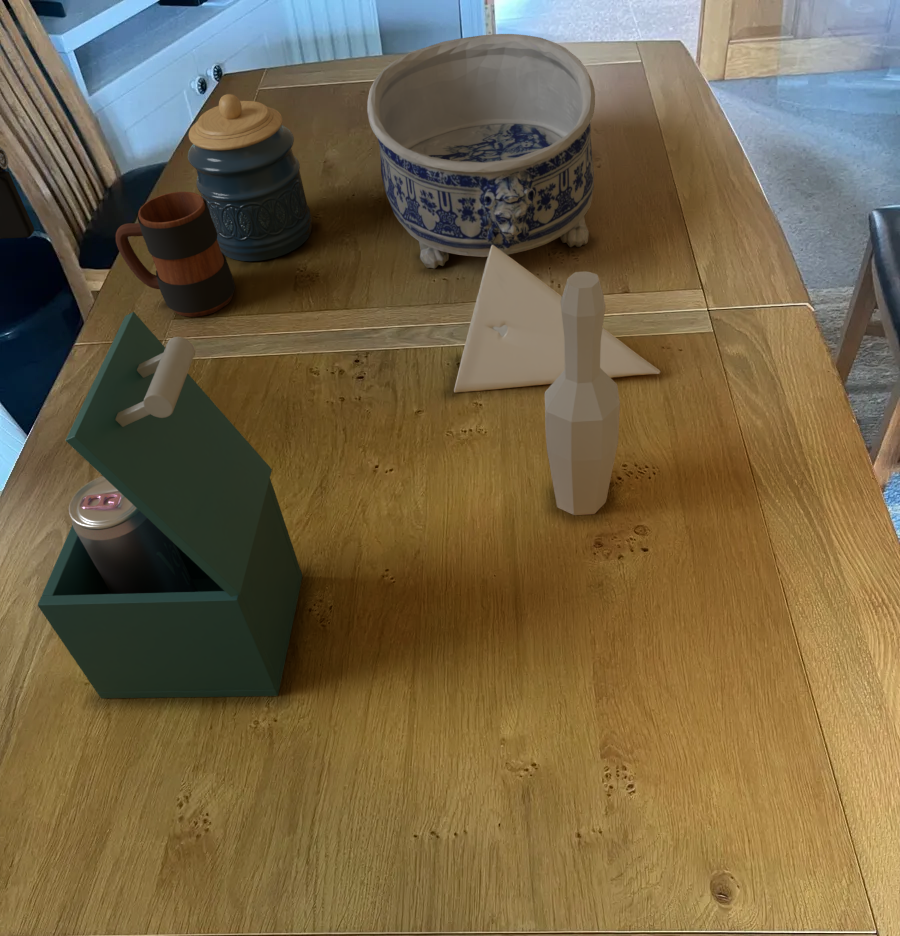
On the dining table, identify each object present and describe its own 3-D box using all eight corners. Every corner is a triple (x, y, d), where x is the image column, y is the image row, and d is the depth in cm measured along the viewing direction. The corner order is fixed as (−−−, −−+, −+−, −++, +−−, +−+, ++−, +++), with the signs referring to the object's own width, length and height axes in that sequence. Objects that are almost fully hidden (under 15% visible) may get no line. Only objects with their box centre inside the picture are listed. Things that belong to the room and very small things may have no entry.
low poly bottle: (606, 528, 82) (615, 308, 66) (537, 515, 84) (528, 298, 68) (623, 480, 86) (635, 261, 69) (556, 469, 88) (553, 252, 71)
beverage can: (148, 602, 81) (79, 473, 70) (215, 599, 80) (156, 468, 69) (131, 657, 77) (54, 530, 66) (201, 655, 77) (136, 526, 65)
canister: (288, 268, 117) (251, 122, 103) (198, 259, 120) (151, 117, 107) (329, 215, 124) (300, 73, 111) (243, 209, 128) (205, 70, 114)
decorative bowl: (634, 277, 108) (641, 145, 96) (407, 318, 107) (387, 189, 95) (550, 125, 135) (548, 8, 124) (369, 156, 134) (350, 42, 123)
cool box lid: (64, 440, 55) (128, 411, 53) (124, 315, 63) (182, 286, 61) (231, 597, 65) (289, 577, 63) (264, 472, 73) (316, 451, 71)
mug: (148, 285, 117) (113, 194, 108) (242, 277, 116) (214, 185, 107) (133, 324, 112) (95, 232, 103) (231, 316, 111) (201, 222, 102)
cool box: (100, 698, 76) (36, 605, 67) (142, 580, 84) (90, 482, 75) (278, 696, 74) (237, 600, 65) (302, 575, 82) (269, 475, 73)
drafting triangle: (679, 287, 96) (493, 235, 94) (688, 300, 90) (491, 245, 89) (629, 422, 103) (456, 376, 102) (635, 442, 98) (453, 393, 97)
